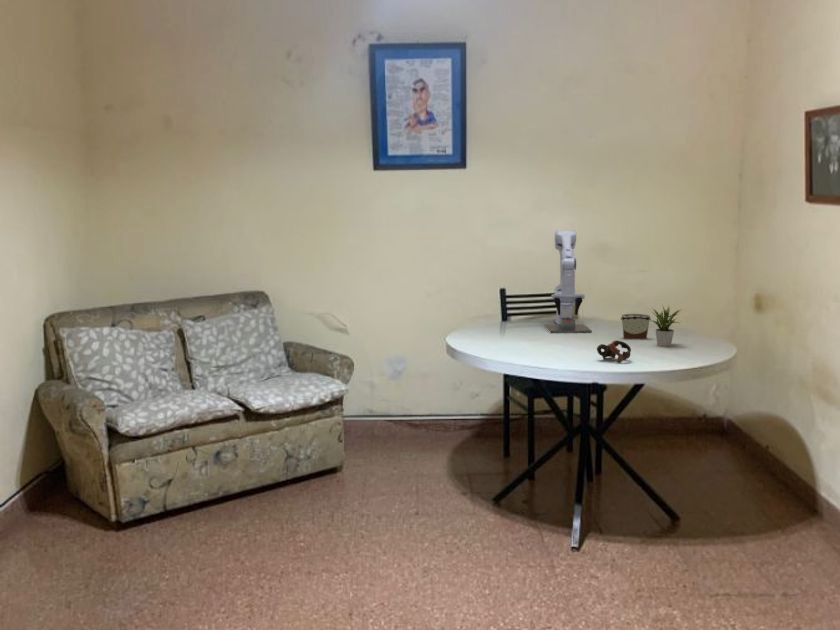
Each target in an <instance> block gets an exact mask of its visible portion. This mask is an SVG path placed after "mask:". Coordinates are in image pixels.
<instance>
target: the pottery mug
mask: <svg viewBox="0 0 840 630" xmlns="http://www.w3.org/2000/svg"><path fill="white" fill-rule="evenodd" d="M619 345H620V346H621V349H626V350H627V351H622V353H621V350H620V349H619V348H617V347H618V346H619ZM602 350H603V351H602ZM596 351H597V353H598V355H599V356H601V357H602V359H603V360H605V359H606V358H607V357H609V358H614V359H615V358H616V356H617V359H616V360H615V361H616V362H617V363H619V364H620V363H621V362H623V361H625V360H628V359H629V358H630V357H631V352H632V349H631V346H630V345H629V344H627V343H626V342H624V341H622V340H618V339H617V340H613V341H612V342H610V343H609V344H602V343H601V344H599V345H597V347H596Z"/></svg>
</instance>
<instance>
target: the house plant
mask: <svg viewBox="0 0 840 630" xmlns="http://www.w3.org/2000/svg"><path fill="white" fill-rule="evenodd" d="M662 309H663V310H662V311H661V312H660V313H659V312H658V311H657V310H656V309H654V308H652V311H654V316H655V317H656V320H651V321H650V320H649V323H650V322H652V323H654V324H655V325H657V327H658V328H656V329H655V336H656V337H655V338H656V344H657V346H658V345H659V346H658V347H664V346H668V347H671V346H672V343H673V342H672V341H673V336H674V332H675V330H674V329H672V328H671V325H672V324H674V325H675V324H676V323H678V324H680V322H683V321H682V320H681V321H680V320H679V321H678V322H677V321H676V318H674V317H675V316H677V315H678V316H679V315H681V314H680V312H681V309H679V310H676V311H675V312H673V313H672V314H671V315H670V305H668V306H667V309H665V306H664V304H662ZM674 325H672V327H673V326H674ZM670 345H671V346H670Z"/></svg>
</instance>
